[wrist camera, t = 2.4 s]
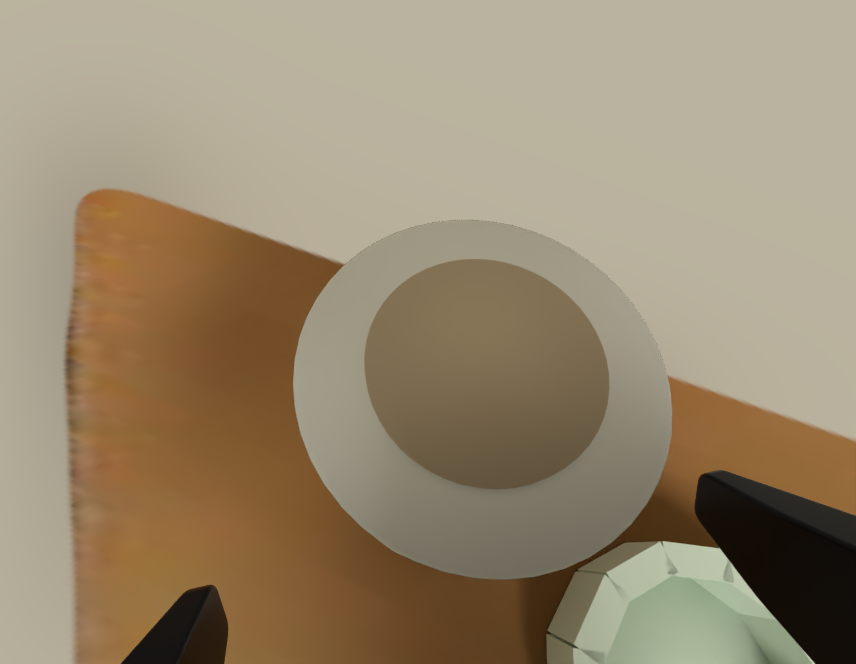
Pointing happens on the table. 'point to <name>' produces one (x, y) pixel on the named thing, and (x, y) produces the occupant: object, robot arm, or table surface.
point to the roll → (482, 399)
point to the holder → (665, 612)
